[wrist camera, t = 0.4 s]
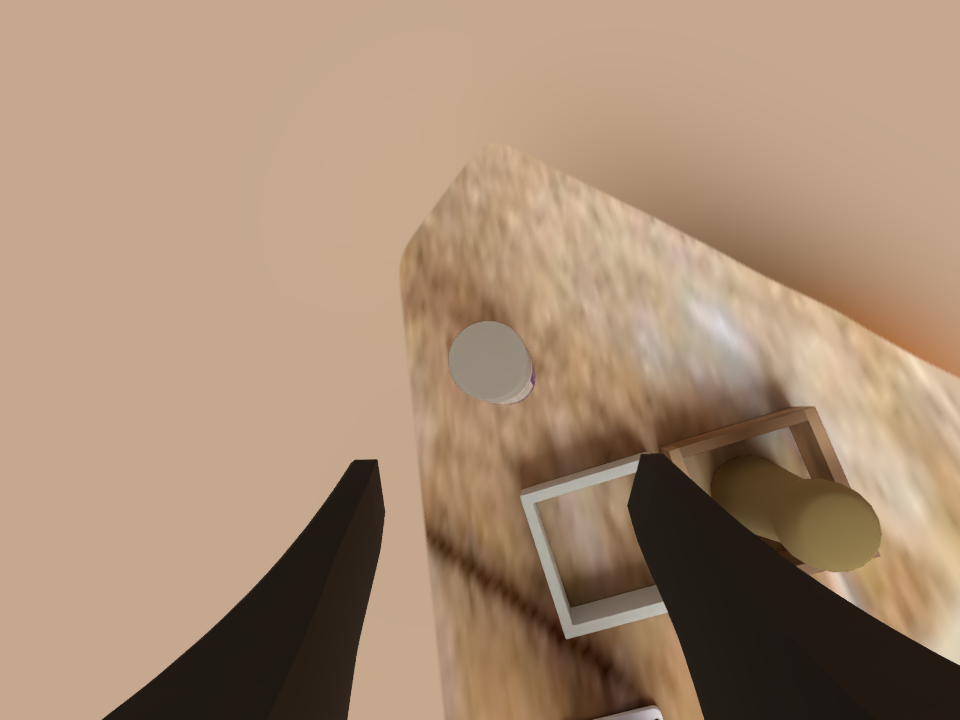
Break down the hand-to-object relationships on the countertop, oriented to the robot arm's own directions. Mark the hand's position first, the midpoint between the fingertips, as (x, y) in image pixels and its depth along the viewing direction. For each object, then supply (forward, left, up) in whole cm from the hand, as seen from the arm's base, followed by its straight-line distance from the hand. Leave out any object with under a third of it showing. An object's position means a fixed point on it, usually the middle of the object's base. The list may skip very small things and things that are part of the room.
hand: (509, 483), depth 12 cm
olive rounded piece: (-10, -15, -27) cm, 32 cm away
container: (+5, +1, -27) cm, 27 cm away
